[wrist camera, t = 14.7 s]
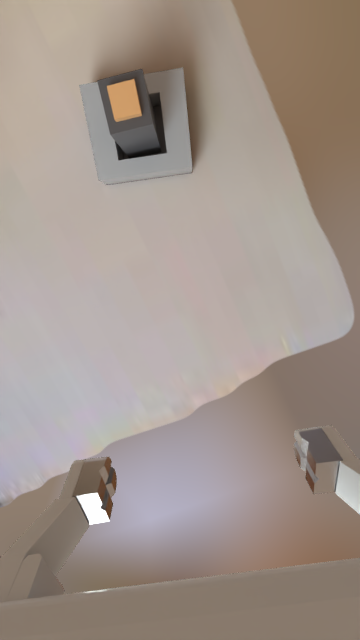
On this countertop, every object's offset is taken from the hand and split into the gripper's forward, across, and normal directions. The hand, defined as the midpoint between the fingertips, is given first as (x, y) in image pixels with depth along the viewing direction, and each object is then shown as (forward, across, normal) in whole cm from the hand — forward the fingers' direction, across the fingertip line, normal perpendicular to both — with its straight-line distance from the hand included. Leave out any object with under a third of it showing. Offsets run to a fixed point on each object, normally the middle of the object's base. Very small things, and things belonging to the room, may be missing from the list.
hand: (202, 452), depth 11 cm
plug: (+30, +2, -18) cm, 35 cm away
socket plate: (+30, +2, -18) cm, 35 cm away
